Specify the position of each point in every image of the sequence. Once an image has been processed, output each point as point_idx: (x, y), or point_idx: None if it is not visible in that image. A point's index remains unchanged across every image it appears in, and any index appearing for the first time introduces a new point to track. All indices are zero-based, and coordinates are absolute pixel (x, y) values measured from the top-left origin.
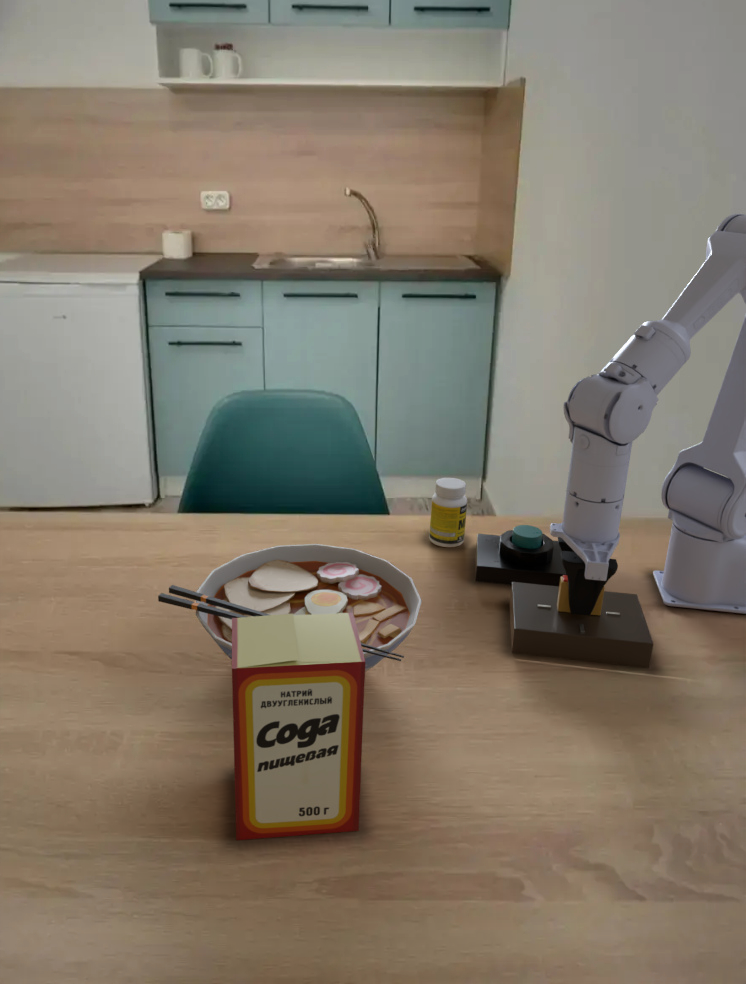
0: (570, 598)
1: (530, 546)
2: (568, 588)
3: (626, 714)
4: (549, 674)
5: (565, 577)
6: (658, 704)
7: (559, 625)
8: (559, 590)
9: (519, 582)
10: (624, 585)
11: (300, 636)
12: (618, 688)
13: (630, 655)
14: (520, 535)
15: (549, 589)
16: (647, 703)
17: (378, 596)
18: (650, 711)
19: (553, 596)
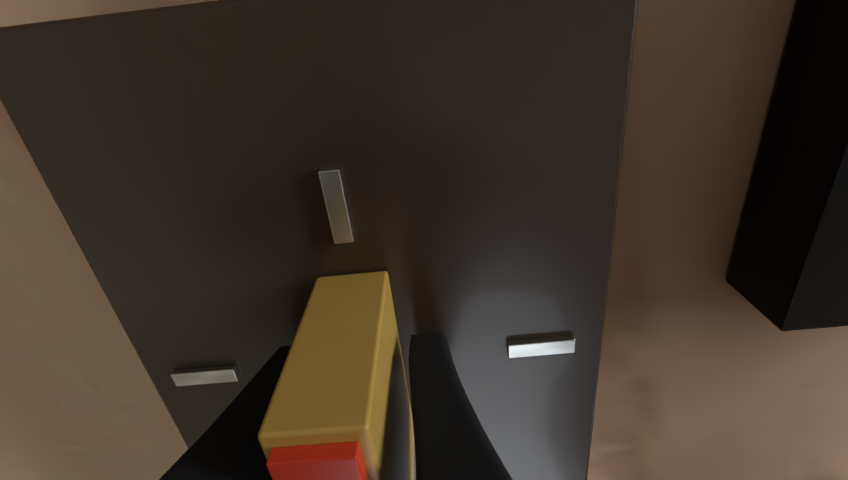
0: (215, 420)
1: None
2: (227, 456)
3: (4, 407)
4: (45, 201)
5: (312, 475)
6: (111, 467)
7: (175, 287)
8: (334, 350)
9: (811, 11)
10: (771, 421)
11: None
12: (119, 394)
13: None
14: None
15: (560, 226)
16: (97, 448)
17: None
18: (65, 452)
19: (481, 249)
